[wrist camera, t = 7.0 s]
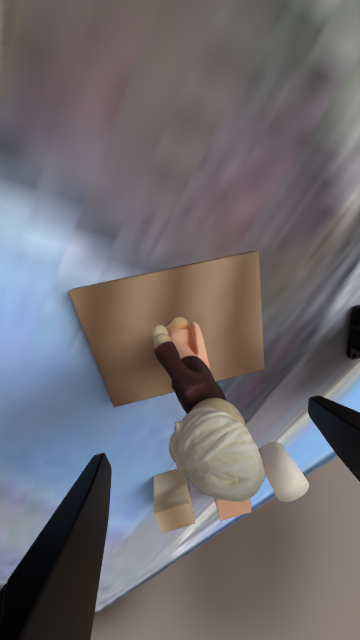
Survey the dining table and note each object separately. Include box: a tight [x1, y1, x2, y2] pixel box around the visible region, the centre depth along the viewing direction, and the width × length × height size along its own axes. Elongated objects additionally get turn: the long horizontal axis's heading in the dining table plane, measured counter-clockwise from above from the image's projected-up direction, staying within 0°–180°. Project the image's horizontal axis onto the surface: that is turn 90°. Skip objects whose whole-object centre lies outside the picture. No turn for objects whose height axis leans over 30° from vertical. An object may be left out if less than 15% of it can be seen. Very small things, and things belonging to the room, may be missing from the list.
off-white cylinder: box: [259, 442, 309, 502], centre depth 25 cm, size 4×4×4 cm
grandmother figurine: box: [151, 317, 265, 502], centre depth 12 cm, size 8×4×13 cm, turn 44°
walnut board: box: [69, 251, 264, 407], centre depth 19 cm, size 16×12×1 cm
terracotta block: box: [214, 497, 251, 521], centre depth 25 cm, size 4×4×4 cm
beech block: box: [154, 469, 195, 533], centre depth 24 cm, size 4×4×4 cm
